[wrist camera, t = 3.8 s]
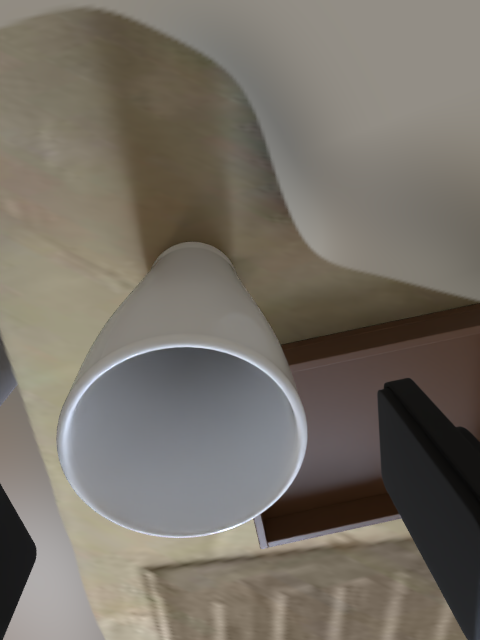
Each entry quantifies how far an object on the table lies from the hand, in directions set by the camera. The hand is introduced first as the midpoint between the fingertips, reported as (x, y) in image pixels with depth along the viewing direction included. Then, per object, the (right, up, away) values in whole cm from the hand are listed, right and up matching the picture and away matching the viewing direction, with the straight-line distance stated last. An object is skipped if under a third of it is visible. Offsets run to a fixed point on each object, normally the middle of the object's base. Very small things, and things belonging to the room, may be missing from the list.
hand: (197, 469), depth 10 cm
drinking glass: (-2, +6, +15) cm, 16 cm away
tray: (+10, -4, +20) cm, 23 cm away
